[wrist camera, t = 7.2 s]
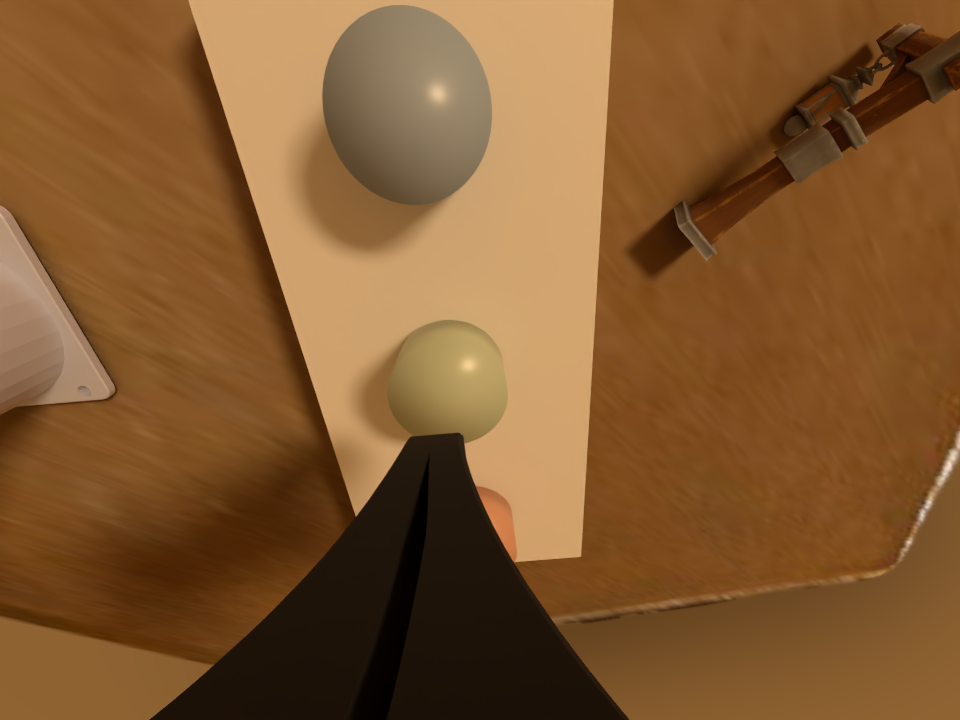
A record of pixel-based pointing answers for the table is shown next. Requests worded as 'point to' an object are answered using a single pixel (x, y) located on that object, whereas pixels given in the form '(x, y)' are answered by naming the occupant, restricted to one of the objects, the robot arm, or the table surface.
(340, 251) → the button panel
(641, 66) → the table surface
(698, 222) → the wooden post with brackets
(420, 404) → the sage button
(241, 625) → the table surface
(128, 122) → the table surface
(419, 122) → the slate button
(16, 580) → the table surface
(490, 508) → the orange rounded dome
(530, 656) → the robot arm
